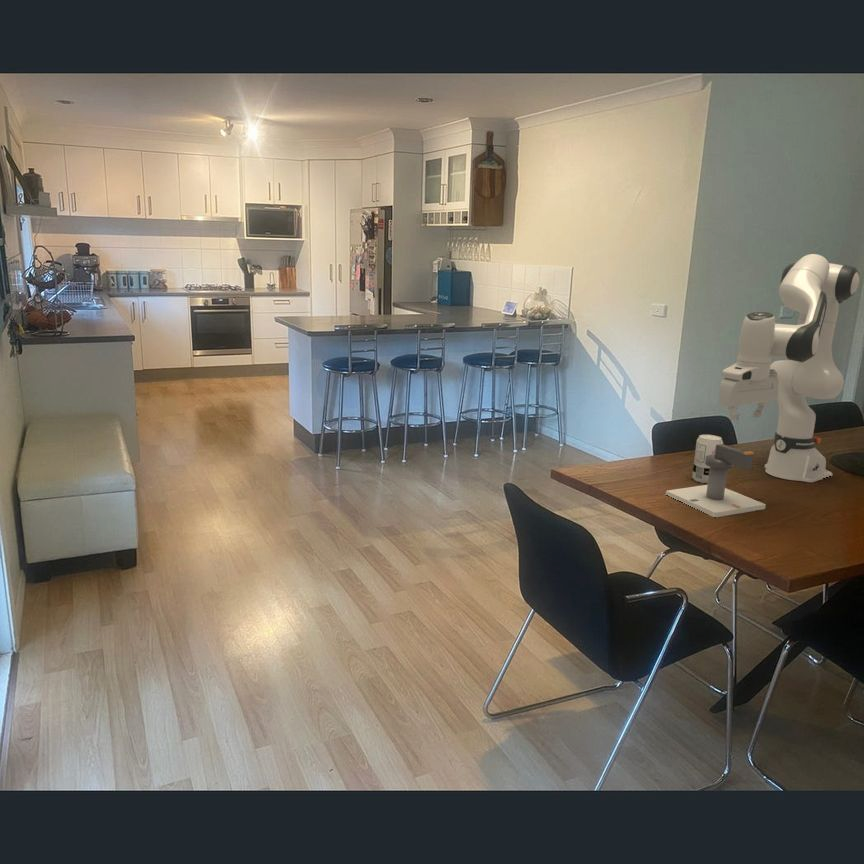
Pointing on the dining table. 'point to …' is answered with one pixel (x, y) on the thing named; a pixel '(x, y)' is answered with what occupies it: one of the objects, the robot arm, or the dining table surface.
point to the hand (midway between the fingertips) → (745, 418)
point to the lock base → (715, 504)
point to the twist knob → (729, 458)
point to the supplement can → (704, 456)
